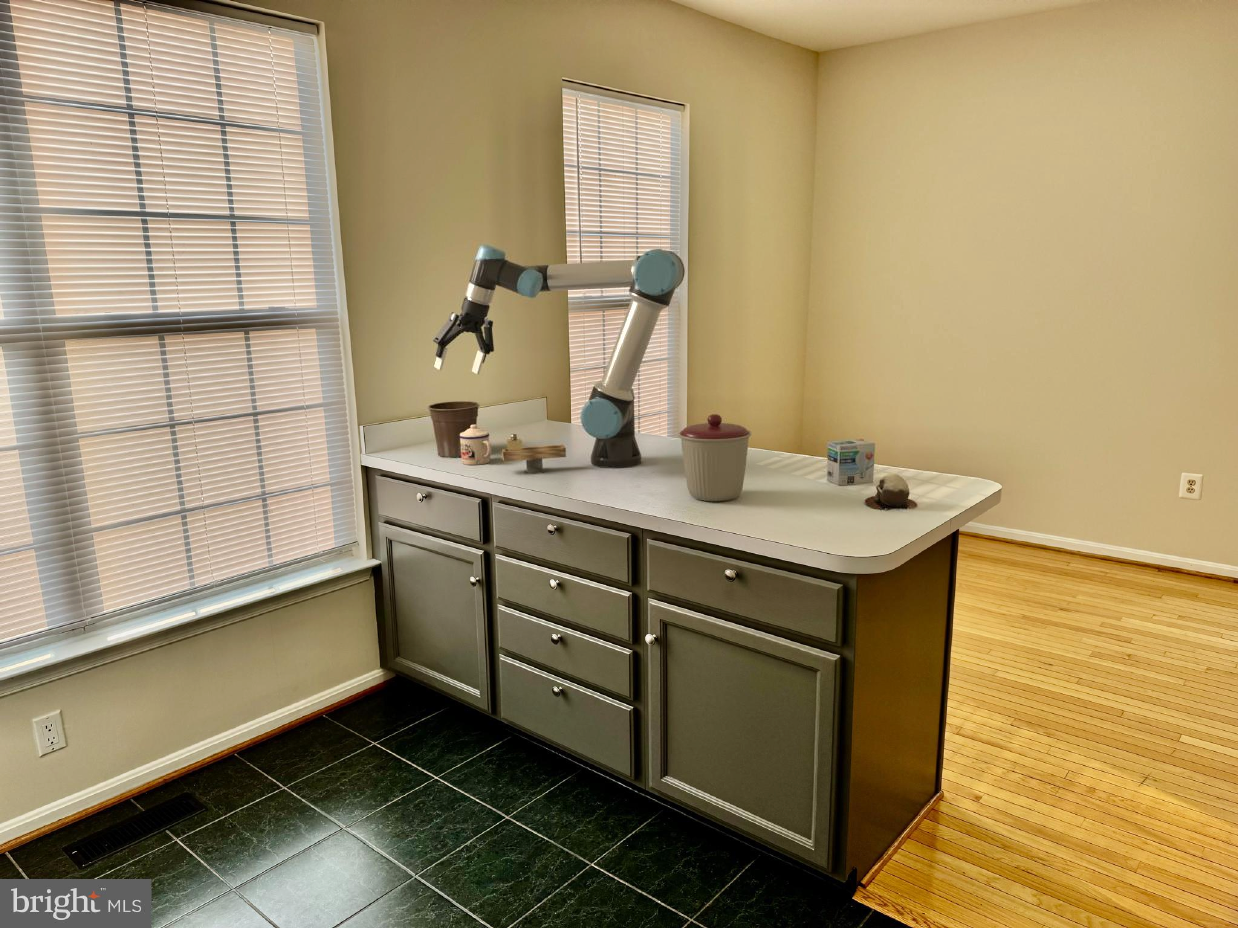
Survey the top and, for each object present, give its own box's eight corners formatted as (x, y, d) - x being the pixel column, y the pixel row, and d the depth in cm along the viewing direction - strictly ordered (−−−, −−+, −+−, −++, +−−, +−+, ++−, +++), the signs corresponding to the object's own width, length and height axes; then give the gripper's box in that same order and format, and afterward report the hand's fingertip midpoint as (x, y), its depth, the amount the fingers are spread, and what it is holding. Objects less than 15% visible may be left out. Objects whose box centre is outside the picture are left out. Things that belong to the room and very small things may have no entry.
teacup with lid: (455, 463, 271) (452, 425, 269) (478, 458, 278) (476, 421, 275) (479, 468, 263) (477, 429, 261) (503, 462, 270) (501, 425, 267)
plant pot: (473, 459, 275) (469, 408, 272) (423, 459, 278) (420, 408, 274) (488, 449, 291) (485, 401, 287) (442, 449, 293) (438, 401, 290)
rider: (521, 452, 257) (520, 433, 255) (522, 453, 254) (521, 434, 253) (507, 453, 256) (506, 434, 255) (508, 454, 253) (507, 435, 252)
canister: (694, 509, 212) (693, 422, 207) (669, 492, 228) (667, 411, 224) (763, 501, 216) (763, 417, 212) (733, 485, 233) (733, 406, 229)
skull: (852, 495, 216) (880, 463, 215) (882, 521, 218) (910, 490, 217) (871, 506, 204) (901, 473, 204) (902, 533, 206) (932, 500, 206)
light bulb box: (838, 486, 230) (839, 445, 227) (825, 480, 236) (826, 441, 234) (874, 482, 233) (876, 442, 230) (861, 477, 239) (862, 438, 237)
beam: (563, 466, 262) (562, 444, 260) (566, 470, 256) (565, 448, 255) (502, 471, 258) (501, 448, 257) (504, 475, 252) (503, 452, 251)
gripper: (503, 303, 261) (482, 370, 267) (434, 289, 242) (413, 361, 248) (518, 311, 256) (497, 379, 262) (449, 298, 237) (428, 371, 243)
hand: (456, 370), depth 255 cm, fingers open, 13 cm apart
